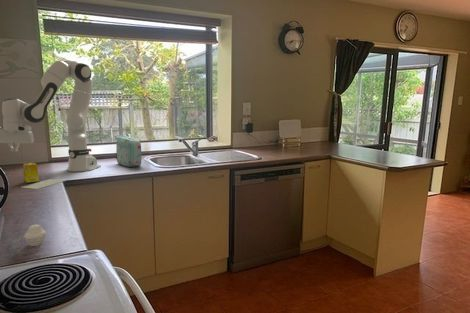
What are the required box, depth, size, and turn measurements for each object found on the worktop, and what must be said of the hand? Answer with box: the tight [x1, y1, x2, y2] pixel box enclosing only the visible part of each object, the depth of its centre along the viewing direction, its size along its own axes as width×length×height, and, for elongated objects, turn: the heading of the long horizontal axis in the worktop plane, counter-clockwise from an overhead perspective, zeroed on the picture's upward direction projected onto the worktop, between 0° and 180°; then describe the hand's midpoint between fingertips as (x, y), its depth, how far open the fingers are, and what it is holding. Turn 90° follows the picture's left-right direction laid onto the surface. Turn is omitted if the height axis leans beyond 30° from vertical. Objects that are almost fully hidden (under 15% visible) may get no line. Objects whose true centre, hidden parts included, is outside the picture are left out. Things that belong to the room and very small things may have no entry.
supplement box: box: [22, 162, 40, 185], centre depth 191 cm, size 6×6×11 cm
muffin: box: [24, 224, 47, 247], centre depth 109 cm, size 6×6×7 cm
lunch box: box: [115, 135, 142, 168], centre depth 243 cm, size 27×10×21 cm, turn 42°
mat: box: [20, 178, 66, 190], centre depth 188 cm, size 20×11×1 cm, turn 163°
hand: (14, 151), depth 191 cm, fingers closed
